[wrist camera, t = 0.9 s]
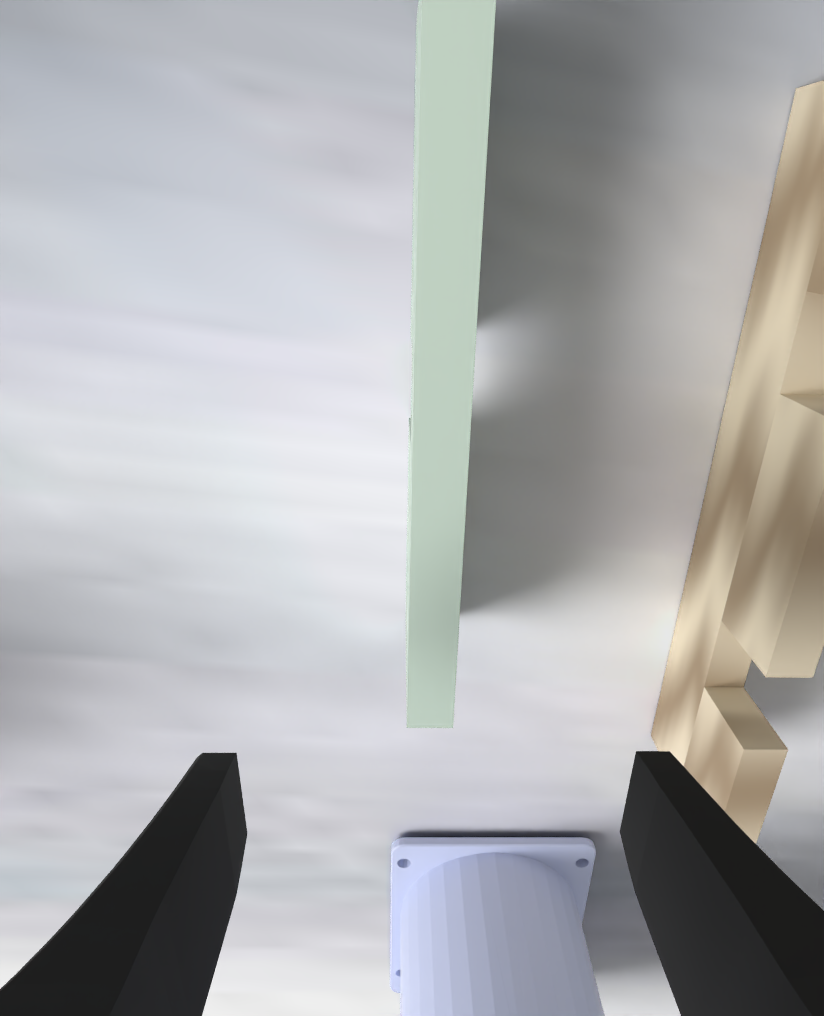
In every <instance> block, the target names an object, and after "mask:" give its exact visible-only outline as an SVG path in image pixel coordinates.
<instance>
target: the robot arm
mask: <svg viewBox="0 0 824 1016" xmlns="http://www.w3.org/2000/svg"><path fill="white" fill-rule="evenodd" d="M620 834H621V838H622V842H623V846H624V850H625V855H626V859H627V863H628V867H629V871H630V874H631V878H632V882H633V886H634V889H635V893H636V896H637V898H638V901H639V904H640V907H641V909H642V912H643V915H644V918H645V920H646V923H647V926H648V928H649V931H650V934H651V937H652V939H653V942H654V945H655V947H656V950H657V953H658V955H659V958H660V961H661V963H662V966H663V969H664V971H665V974H666V977H667V979H668V982H669V985H670V987H671V990H672V993H673V995H674V998H675V1001H676V1003H677V1006H678V1009H679V1011H680V1014H681V1016H824V911H823V910H822V909H821V908H820V907H819V906H818V905H817V904H816V903H815V902H814V901H813V900H812V899H811V898H810V897H809V896H808V895H806V894H805V893H804V892H803V891H802V890H801V889H800V888H799V887H798V886H797V885H796V884H795V883H794V882H793V881H792V880H791V879H790V878H789V877H788V876H787V875H786V874H785V873H784V872H783V871H782V870H781V869H780V868H779V867H778V866H777V865H776V864H775V863H774V862H773V861H772V860H771V859H770V858H769V857H768V856H767V855H766V854H765V853H764V852H763V851H762V850H761V849H760V848H759V847H758V846H757V845H756V844H755V843H754V842H753V841H752V840H751V839H750V838H749V837H748V836H747V835H746V833H745V832H744V831H743V830H742V829H741V828H740V827H739V826H738V825H737V824H736V823H735V822H734V821H733V820H732V819H731V818H730V817H729V815H728V814H727V813H726V812H725V811H724V810H723V809H722V808H721V807H720V806H719V805H718V804H717V802H716V801H715V800H714V799H713V798H712V797H711V796H710V795H709V794H708V793H707V791H706V790H705V789H704V788H703V787H702V786H701V785H700V784H699V783H698V782H697V780H696V779H695V778H694V777H693V776H692V775H691V774H690V773H689V772H688V771H687V769H686V768H685V767H684V766H683V765H682V764H681V763H680V762H679V761H678V760H677V759H676V757H675V756H674V755H673V754H672V753H671V752H670V751H636V755H635V759H634V764H633V769H632V774H631V779H630V784H629V789H628V794H627V799H626V804H625V809H624V814H623V819H622V823H621V828H620ZM246 838H247V828H246V821H245V813H244V806H243V798H242V791H241V783H240V776H239V769H238V761H237V754H236V753H202V754H201V755H200V756H198V757H197V758H196V760H195V761H194V763H193V764H192V765H191V767H190V768H189V770H188V771H187V773H186V774H185V775H184V777H183V778H182V780H181V781H180V782H179V784H178V785H177V787H176V788H175V789H174V791H173V792H172V793H171V795H170V796H169V798H168V799H167V800H166V802H165V803H164V804H163V806H162V807H161V808H160V810H159V811H158V812H157V814H156V815H155V816H154V818H153V819H152V820H151V822H150V823H149V824H148V825H147V827H146V828H145V829H144V830H143V832H142V833H141V834H140V835H139V837H138V838H137V839H136V841H135V842H134V843H133V844H132V846H131V847H130V848H129V849H128V851H127V852H126V853H125V854H124V856H123V857H122V858H121V859H120V861H119V862H118V863H117V864H116V865H115V867H114V868H113V869H112V870H111V871H110V873H109V874H108V875H107V876H106V877H105V878H104V880H103V881H102V882H101V883H100V884H99V885H98V886H97V888H96V889H95V890H94V891H93V892H92V893H91V895H90V896H89V897H88V898H87V899H86V900H85V901H84V903H83V904H82V905H81V906H80V907H79V908H78V910H77V911H76V912H75V913H74V914H73V915H72V916H71V917H70V918H69V919H68V921H67V922H66V923H65V924H64V925H63V926H62V927H61V928H60V929H59V930H58V931H57V932H56V934H55V935H54V936H53V937H52V938H51V939H50V940H49V941H48V942H47V943H46V944H45V945H44V946H43V947H42V948H41V949H40V950H39V951H38V952H37V953H36V954H35V955H34V956H33V957H32V958H31V959H30V960H29V961H28V962H27V963H26V964H25V966H24V967H23V968H22V969H21V970H20V971H19V972H18V973H17V974H16V975H15V976H14V977H12V978H11V979H10V980H9V981H8V982H7V983H6V984H5V985H4V986H3V987H2V988H1V989H0V1016H202V1013H203V1010H204V1006H205V1003H206V999H207V996H208V992H209V989H210V985H211V982H212V978H213V975H214V972H215V968H216V965H217V961H218V958H219V954H220V951H221V947H222V944H223V940H224V937H225V933H226V930H227V926H228V923H229V919H230V916H231V912H232V909H233V905H234V901H235V898H236V894H237V889H238V883H239V878H240V873H241V867H242V861H243V856H244V850H245V844H246ZM595 856H596V849H595V846H594V843H593V841H592V840H590V839H588V838H584V837H403V838H399V839H397V840H395V841H394V842H393V843H392V846H391V933H390V987H391V989H392V990H393V991H394V992H397V993H400V1016H605V1015H604V1011H603V1007H602V1003H601V1000H600V996H599V992H598V988H597V984H596V980H595V976H594V972H593V968H592V964H591V960H590V956H589V952H588V948H587V944H586V940H585V936H584V932H583V928H582V922H583V917H584V912H585V907H586V902H587V897H588V892H589V887H590V881H591V876H592V871H593V866H594V861H595Z"/></svg>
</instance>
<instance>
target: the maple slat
mask: <svg viewBox="0 0 824 1016" xmlns="http://www.w3.org/2000/svg"><path fill="white" fill-rule="evenodd" d="M823 647H824V80H823V81H819V82H816V83H813V84H810V85H806V86H803V87H800V88H796V91H795V95H794V100H793V104H792V109H791V113H790V118H789V122H788V126H787V131H786V135H785V140H784V144H783V149H782V153H781V158H780V162H779V167H778V171H777V176H776V180H775V184H774V189H773V193H772V198H771V202H770V207H769V211H768V216H767V220H766V225H765V229H764V233H763V238H762V242H761V247H760V251H759V256H758V260H757V265H756V269H755V274H754V278H753V282H752V287H751V291H750V296H749V300H748V305H747V309H746V314H745V318H744V323H743V327H742V332H741V336H740V340H739V345H738V349H737V354H736V358H735V363H734V367H733V372H732V376H731V381H730V385H729V389H728V394H727V398H726V403H725V407H724V412H723V416H722V421H721V425H720V430H719V434H718V438H717V443H716V447H715V452H714V456H713V461H712V465H711V470H710V474H709V479H708V483H707V488H706V492H705V496H704V501H703V505H702V510H701V514H700V519H699V523H698V528H697V532H696V537H695V541H694V545H693V550H692V554H691V559H690V563H689V568H688V572H687V577H686V581H685V586H684V590H683V594H682V599H681V603H680V608H679V612H678V617H677V621H676V626H675V630H674V635H673V639H672V644H671V648H670V652H669V657H668V661H667V666H666V670H665V675H664V679H663V684H662V688H661V693H660V697H659V701H658V706H657V710H656V715H655V719H654V724H653V728H652V733H651V737H652V739H653V741H654V743H655V745H656V747H657V749H658V751H670V752H671V753H672V754H673V755H674V756H675V757H676V759H677V760H678V761H679V762H680V763H681V764H682V765H683V766H684V767H685V768H686V769H687V771H688V772H689V773H690V774H691V775H692V776H693V777H694V778H695V779H696V780H697V782H698V783H699V784H700V785H701V786H702V787H703V788H704V789H705V790H706V791H707V793H708V794H709V795H710V796H711V797H712V798H713V799H714V800H715V801H716V802H717V804H718V805H719V806H720V807H721V808H722V809H723V810H724V811H725V812H726V813H727V814H728V815H729V817H730V818H731V819H732V820H733V821H734V822H735V823H736V824H737V825H738V826H739V827H740V828H741V829H742V830H743V831H744V832H745V833H746V835H747V836H748V837H749V838H750V839H751V840H752V841H753V842H754V843H755V844H756V842H757V839H758V836H759V833H760V830H761V828H762V825H763V822H764V819H765V816H766V813H767V810H768V807H769V804H770V801H771V798H772V795H773V793H774V790H775V787H776V784H777V781H778V778H779V775H780V772H781V769H782V766H783V763H784V760H785V758H786V755H787V752H788V749H787V747H786V746H785V745H784V743H783V742H782V740H781V739H780V738H779V736H778V735H777V733H776V732H775V731H774V729H773V728H772V726H771V725H770V724H769V722H768V721H767V719H766V718H765V717H764V715H763V714H762V712H761V711H760V710H759V708H758V707H757V705H756V704H755V703H754V701H753V700H752V698H751V697H750V696H749V694H748V693H747V691H746V690H745V689H744V684H745V681H746V677H747V674H748V670H749V667H750V663H751V660H753V662H754V663H755V664H756V666H757V667H758V668H759V669H760V671H761V672H762V673H763V674H764V676H765V677H774V678H813V676H814V673H815V670H816V667H817V664H818V661H819V658H820V655H821V652H822V650H823Z"/></svg>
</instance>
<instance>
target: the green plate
mask: <svg viewBox="0 0 824 1016" xmlns="http://www.w3.org/2000/svg"><path fill="white" fill-rule="evenodd" d="M495 9H496V0H419V1H418V13H417V25H416V71H415V126H414V181H413V236H412V291H411V342H412V388H411V418H409V456H408V511H407V566H406V700H407V728H453V720H454V703H455V686H456V669H457V652H458V635H459V618H460V601H461V584H462V568H463V551H464V534H465V517H466V500H467V483H468V466H469V449H470V432H471V415H472V398H473V382H474V365H475V348H476V331H477V314H478V297H479V280H480V263H481V246H482V229H483V212H484V195H485V179H486V162H487V145H488V128H489V111H490V94H491V77H492V60H493V43H494V26H495Z"/></svg>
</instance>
